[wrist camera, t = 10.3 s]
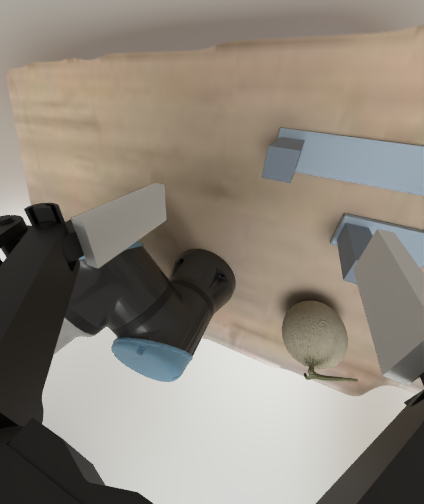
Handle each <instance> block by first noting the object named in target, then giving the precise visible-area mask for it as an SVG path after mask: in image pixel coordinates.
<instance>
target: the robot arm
mask: <svg viewBox="0 0 424 504" xmlns="http://www.w3.org/2000/svg"><path fill="white" fill-rule="evenodd" d="M24 210H25V212H26V214H27V216H28V218H29V220H30V222H31V224H32V226H27V225H26V224H25V222H24V220H23V218H22V217H21V216H16V215H11V216H10V215H6V216H1V217H0V248H1V249H2V251H3V252H4V254H5V255H6V257H7V258H6V259H5V261H4V262H2V261H1V260H0V504H153V503H152V502H150V501H149V500H148V499H146V498H145V497H143V496H142V495H141V494H139V493H138V492H133V491H129V490H124V489H119V488H114V487H109V486H105V484H104V482H103V481H102V479H101V477H100V476H99V474H98V473H97V471H96V469H95V467H94V466H93V464H92V463H90V462H89V461H88V460H87V459H86V458H84V457H83V456H82V455H81V454H80V453H79V452H77V451H76V450H75V449H74V448H72V447H71V446H70V445H69V444H68V443H67V442H66V441H64V440H63V439H62V438H60V437H59V436H58V435H56V434H55V433H53V432H52V431H51V430H49V429H48V428H46V427H45V426H44V425H42V421H43V405H42V391H43V388H44V384H45V381H46V378H47V374H48V371H49V367H50V364H51V361H52V358H53V355H54V354H55V353H56V352H57V351H59V350H60V349H61V348H63V347H64V346H65V345H66V344H68V343H69V342H70V341H72V340H73V339H74V338H75V337H78V336H87V337H90V336H94V335H96V334H97V333H98V332H99V331H101V330H102V329H103V328H105V327H109V328H110V329H111V330H112V331H113V332H114V333H115V334H116V335H117V337H118V338H117V339H115V340H114V342H113V345H112V352H113V353H114V355H115V356H116V357H117V358H118V359H119V360H120V361H121V362H122V363H123V364H125V365H126V366H128V367H129V368H131V369H133V370H134V371H136V372H138V373H140V374H142V375H144V376H146V377H149V378H151V379H155V380H158V381H164V382H170V381H174V380H176V379H178V378H179V377H180V376H181V375H182V373H183V371H184V370H185V368H186V366H187V365H188V363H189V362H190V361H191V360H192V356H193V354H194V352H195V350H196V348H197V346H198V344H199V342H200V340H201V338H202V336H203V334H204V332H205V330H206V328H207V326H208V324H209V322H210V320H211V318H212V316H213V314H214V313H215V312H216V311H218V310H219V309H220V308H221V307H222V306H223V305H224V304H226V303H227V302H228V301H229V300H230V298H231V296H232V294H233V292H234V290H235V277H234V274H233V272H232V270H231V269H230V267H229V266H228V265H227V264H226V263H225V262H224V261H223V260H222V259H221V258H220V257H218V256H217V255H215V254H213V253H211V252H208V251H205V250H199V249H194V250H189V251H187V252H185V253H183V254H182V255H181V256H180V257H179V258H178V259H177V261H176V262H175V264H174V266H173V269H172V272H171V274H170V277H169V279H168V278H167V277H166V276H165V274H164V273H163V272H162V270H161V269H160V268H159V267H158V265H157V264H156V263H155V261H154V260H153V259H152V257H151V256H150V255H149V254H148V252H147V251H146V250H145V248H144V247H143V244H142V243H140V242H139V241H138V240H139V239H141V238H142V237H143V236H145V235H146V234H148V233H149V232H151V231H152V230H153V229H155V228H156V227H158V226H159V225H160V224H162V223H163V222H165V221H166V220H167V218H166V203H165V187H164V184H159V183H153V184H151V185H148V186H146V187H144V188H141V189H139V190H137V191H134V192H132V193H129V194H127V195H125V196H122V197H120V198H117V199H115V200H113V201H110V202H108V203H105V204H103V205H101V206H98V207H96V208H94V209H91V210H89V211H86V212H84V213H82V214H79V215H77V216H74V217H72V218H71V220H69V221H67V222H65V221H64V219H63V216H62V213H61V211H60V208H59V206H58V205H57V204H54V203H40V204H35V205H32V206H29V207H27V208H25V209H24ZM353 270H354V274H355V277H356V281H357V285H358V288H359V292H360V295H361V299H362V303H363V306H364V310H365V314H366V317H367V321H368V324H369V328H370V332H371V335H372V339H373V342H374V346H375V350H376V353H377V357H378V361H379V364H380V368H381V371H382V375H383V376H385V377H388V378H390V379H393V380H396V381H398V382H401V383H404V384H406V385H409V384H411V383H412V382H413V381H415V380H416V379H417V378H419V377H420V378H421V380H422V383H423V385H424V273H423V272H422V270H421V269H420V268H419V266H418V265H417V263H416V262H415V261H414V259H413V258H412V257H411V255H410V254H409V252H408V251H407V250H406V248H405V247H404V245H403V244H402V243H401V241H400V240H399V239H398V237H397V236H396V234H395V233H394V232H390V231H385V230H380V229H377V230H376V232H375V233H374V235H373V237H372V238H371V240H370V242H369V243H368V245H367V247H366V248H365V250H364V252H363V253H362V255H361V257H360V258H359V260H358V262H357V263H356V265H355V267H354V268H353ZM404 403H405V404H406V405H407V406H406V407H405V408H404V409H403V410H402V411H401V412H400V413H399V415H398V416H397V417H396V418H395V419H394V420H393V421H392V422H391V423H390V424H389V425H388V426H387V427H386V429H385V430H384V431H383V432H382V433H381V434H380V435H379V436H378V437H377V438H376V439H375V440H374V441H373V443H372V444H371V445H370V446H369V447H368V448H367V449H366V450H365V451H364V452H363V453H362V454H361V455H360V457H359V458H358V459H357V460H356V461H355V462H354V463H353V464H352V465H351V466H350V467H349V468H348V470H347V471H346V472H345V473H344V474H343V475H342V476H341V477H340V478H339V479H338V481H336V483H334V485H333V486H332V487H331V488H330V489H329V490H328V491H327V492H326V493H325V495H323V497H322V498H321V499H320V500H319V501H318V502H317V503H316V504H424V390H423V391H421V392H419V393H418V394H416V395H415V396H413V397H412V398H411V399H409V400H407V401H406V402H404Z"/></svg>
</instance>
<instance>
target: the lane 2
mask: <svg viewBox="0 0 424 504" xmlns="http://www.w3.org/2000/svg"><path fill="white" fill-rule="evenodd" d="M377 229H380V230H385V231H390V232H394V233H395V234H396V236H397V237H398V239H399V240H400V241H401V243H402V244H403V245H404V247H405V248H406V250H407V251H408V252H409V254H410V255H411V257H412V258H413V259H414V261H415V262H416V263H417V265H418V266H419V268H422V267H423V266H424V231H423V230H419V229H414V228H410V227H405V226H401V225H396V224H392V223H387V222H383V221H378V220H374V219H369V218H365V217H360V216H356V215H351V214H347V213H344V215H343V217H342V219H341V221H340V223H339V225H338V227H337V229H336V231H335V233H334V235H333V237H332V239H331V241H330V244H331V245H335V246H338V250H339V256H340V262H341V268H342V274H343V280H345V281H348V282H352V283H355V284H357V281H356V277H355V274H354V270H353V268H354V267H355V265H356V263H357V262H358V260H359V258H360V257H361V255H362V253H363V252H364V250H365V248H366V247H367V245H368V243H369V242H370V240H371V238H372V237H373V235H374V233H375V232H376V230H377Z"/></svg>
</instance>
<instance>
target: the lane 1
mask: <svg viewBox="0 0 424 504" xmlns="http://www.w3.org/2000/svg"><path fill="white" fill-rule="evenodd" d="M294 172H297V173H303V174H308V175H314V176H319V177H324V178H330V179H335V180H341V181H346V182H352V183H357V184H362V185H368V186H373V187H379V188H384V189H389V190H395V191H400V192H406V193H411V194H417V195H422V196H424V146H419V145H411V144H404V143H396V142H388V141H381V140H373V139H365V138H358V137H350V136H342V135H334V134H327V133H319V132H311V131H304V130H296V129H288V128H280V131H279V135H278V139H277V141H275V142H274V143H272V144H271V145H269V147H268V151H267V156H266V160H265V164H264V169H263V173H262V178H267V179H272V180H277V181H282V182H287V183H291V181H292V178H293V175H294Z"/></svg>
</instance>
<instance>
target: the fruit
mask: <svg viewBox="0 0 424 504" xmlns="http://www.w3.org/2000/svg"><path fill="white" fill-rule="evenodd" d="M282 335H283V340H284V344H285V346H286V348H287V350H288V352H289V353H290V354H291V356H292V357H293V358H295V359H296V360H297V361H298V362H300V363H301V364H303V365H305V366H309V370H308V373H309V377H307V375H306V373H304V376H305V378H306V379H308V380H309V379H320V380H330V381H357V382H358V379H351V378H342V377H333V376H324V375H320V374H316V372H314V368H315V369H329V368H333V367H335V366H336V365H337V364H338V363H340V361H341V360H342V359H343V357H344V356H345V353H346V350H347V345H348V337H347V332H346V329H345V326H344V324H343V322H342V320H341V318H340V317H339V316H338V314H337V313H336V312H335V311H334V310H333V309H331V308H330V307H329V306H327V305H325V304H323V303H321V302H318V301H312V300H307V301H302V302H299V303H297V304H295V305H293V306H292V307H291V308H290V309H289V310H288V312H287V313H286V315H285V317H284V321H283V326H282Z"/></svg>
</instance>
